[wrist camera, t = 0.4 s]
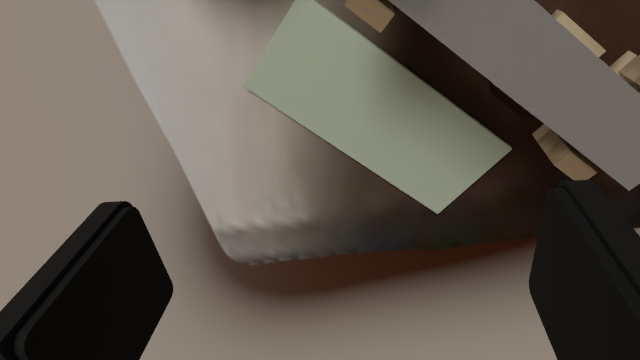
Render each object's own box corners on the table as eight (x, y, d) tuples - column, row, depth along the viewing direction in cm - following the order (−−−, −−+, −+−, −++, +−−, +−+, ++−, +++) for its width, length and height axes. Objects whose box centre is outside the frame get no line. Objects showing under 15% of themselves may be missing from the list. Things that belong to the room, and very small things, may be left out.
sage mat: (301, -11, 33) (300, -10, 33) (510, 146, 39) (512, 149, 39) (244, 84, 38) (243, 86, 38) (437, 210, 44) (437, 214, 44)
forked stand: (401, -134, 28) (418, -161, 17) (600, 45, 33) (711, 112, 22) (340, -38, 32) (324, -10, 21) (528, 111, 37) (593, 195, 26)
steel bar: (384, -125, 21) (386, -131, 17) (655, 114, 26) (696, 144, 23) (338, -51, 23) (332, -44, 20) (598, 157, 28) (629, 190, 25)
